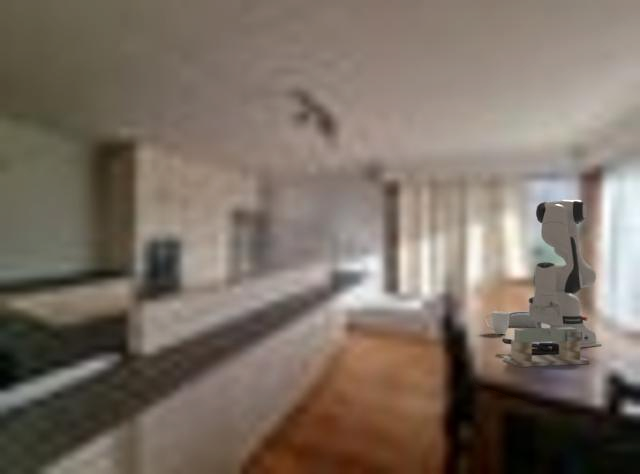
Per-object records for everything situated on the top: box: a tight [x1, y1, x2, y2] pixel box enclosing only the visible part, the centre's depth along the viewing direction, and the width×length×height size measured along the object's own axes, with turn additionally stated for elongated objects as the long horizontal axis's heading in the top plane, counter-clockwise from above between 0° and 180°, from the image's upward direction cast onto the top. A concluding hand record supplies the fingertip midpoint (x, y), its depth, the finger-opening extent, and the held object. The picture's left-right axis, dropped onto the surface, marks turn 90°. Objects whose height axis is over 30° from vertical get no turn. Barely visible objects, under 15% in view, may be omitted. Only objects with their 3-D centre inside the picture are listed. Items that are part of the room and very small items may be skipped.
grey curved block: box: [508, 310, 537, 328], centre depth 330 cm, size 17×5×10 cm, turn 77°
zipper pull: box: [501, 337, 559, 356], centre depth 255 cm, size 9×7×25 cm
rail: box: [513, 327, 577, 343], centre depth 241 cm, size 26×4×5 cm, turn 99°
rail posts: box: [503, 330, 590, 368], centre depth 241 cm, size 32×12×13 cm, turn 99°
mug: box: [485, 310, 510, 335], centre depth 306 cm, size 12×9×12 cm
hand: (545, 333), depth 241 cm, fingers open, 8 cm apart
